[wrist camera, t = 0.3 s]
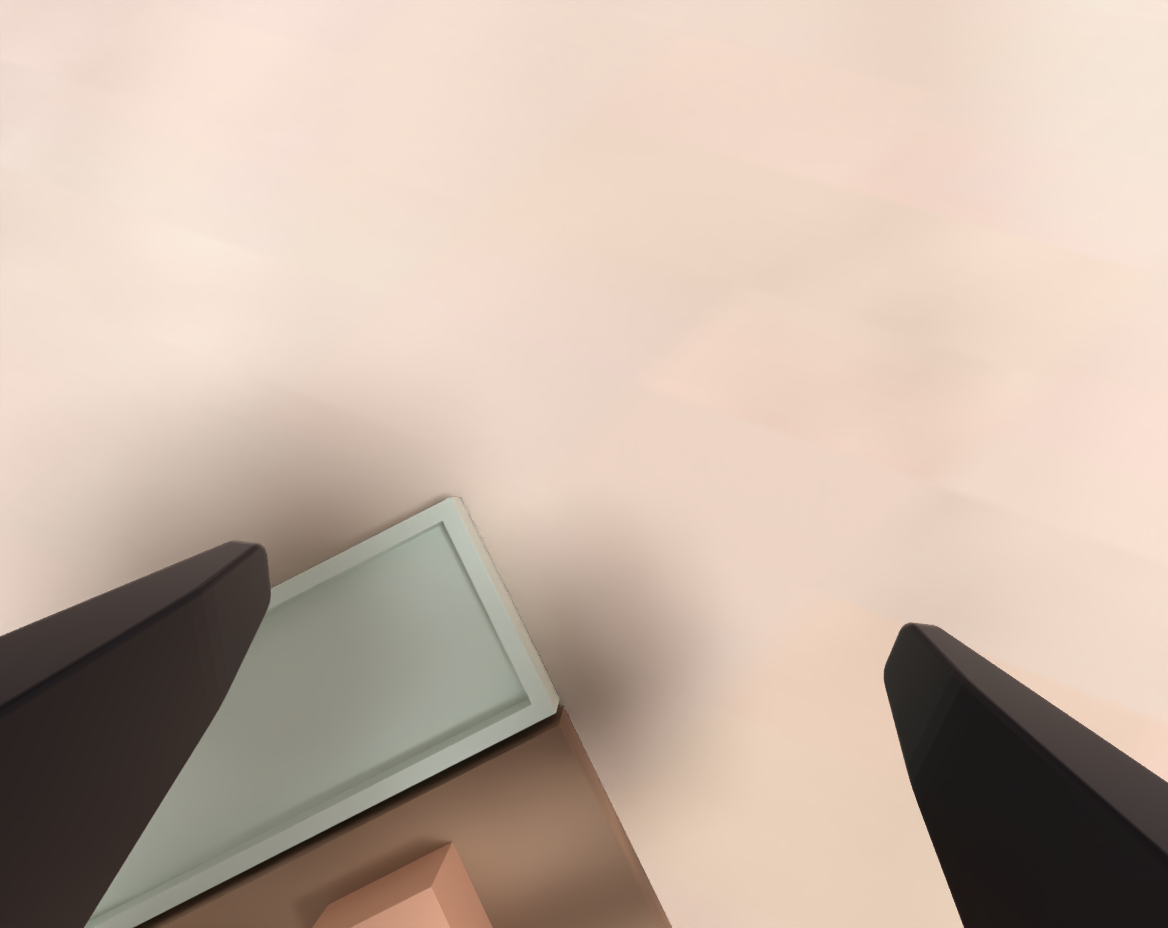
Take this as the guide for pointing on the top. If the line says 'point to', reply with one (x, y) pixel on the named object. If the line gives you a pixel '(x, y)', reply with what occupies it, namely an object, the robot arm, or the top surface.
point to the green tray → (342, 707)
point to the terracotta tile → (413, 898)
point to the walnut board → (463, 847)
